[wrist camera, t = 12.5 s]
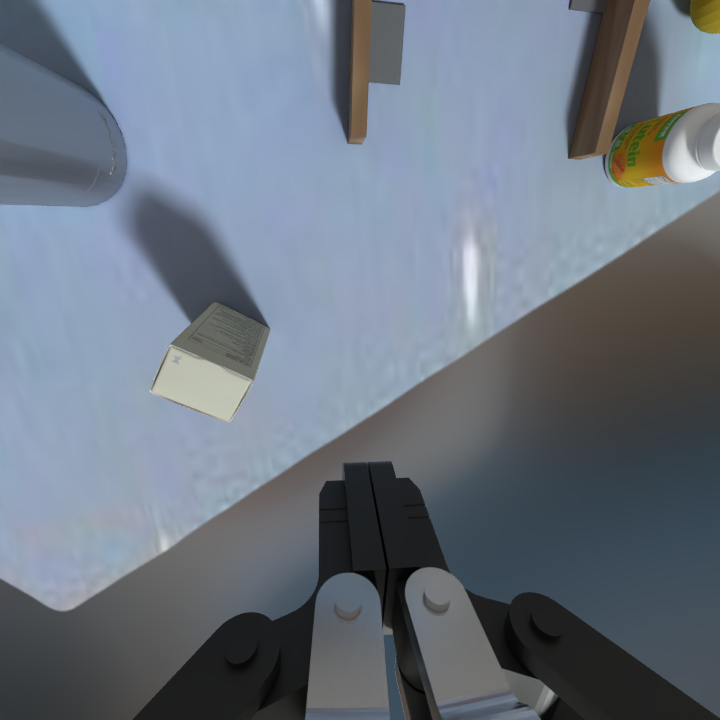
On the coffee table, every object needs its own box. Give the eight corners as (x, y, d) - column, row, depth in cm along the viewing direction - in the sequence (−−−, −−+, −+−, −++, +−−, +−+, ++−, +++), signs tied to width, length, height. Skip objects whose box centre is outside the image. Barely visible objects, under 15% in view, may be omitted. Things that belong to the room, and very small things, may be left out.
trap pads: (367, 96, 30) (367, 95, 29) (346, 10, 27) (346, 8, 27) (622, 6, 29) (624, 5, 29) (622, -90, 27) (624, -93, 26)
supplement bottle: (618, 117, 32) (732, 80, 23) (667, 130, 33) (795, 100, 24) (593, 181, 34) (689, 171, 25) (640, 193, 35) (750, 186, 26)
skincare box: (197, 335, 36) (142, 391, 25) (214, 299, 35) (163, 340, 24) (256, 363, 38) (229, 427, 27) (274, 329, 37) (254, 381, 25)
